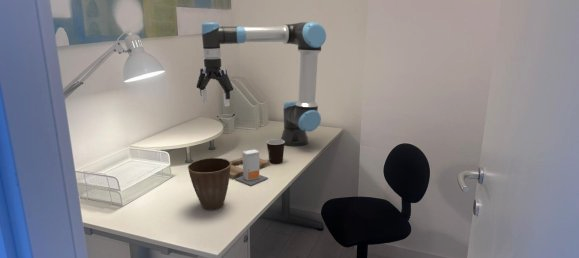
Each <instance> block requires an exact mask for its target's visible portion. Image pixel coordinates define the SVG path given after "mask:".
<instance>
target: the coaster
mask: <svg viewBox="0 0 579 258" xmlns="http://www.w3.org/2000/svg"><path fill="white" fill-rule="evenodd" d="M259 175H260V178H258V179H252V180H248V181H247V180H246V179H245V178H244V177H243V176H241V177H238V178H236V179H234V181H236V182H239V183H242V184H244V185H247V186H249V187H252V186H256V185H257V184H260V183H262V182H265V181H268V180H269V177H267V176H264V175H262V174H259Z"/></svg>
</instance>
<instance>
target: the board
mask: <svg viewBox="0 0 579 258" xmlns="http://www.w3.org/2000/svg"><path fill="white" fill-rule="evenodd" d="M230 163H231V166H230V177H229V179H231V180H234V181H235V179H236V178H238V177H241V176H243V167H242V168H241V167H238V166H240V165H242V166H243V156H242V157H240V158H237V159H233V160H230ZM270 164H271V163H270V161H269V160H266V159H263V158H260V157H259V170H262V169H265V168H267V167H269V166H270Z"/></svg>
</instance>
